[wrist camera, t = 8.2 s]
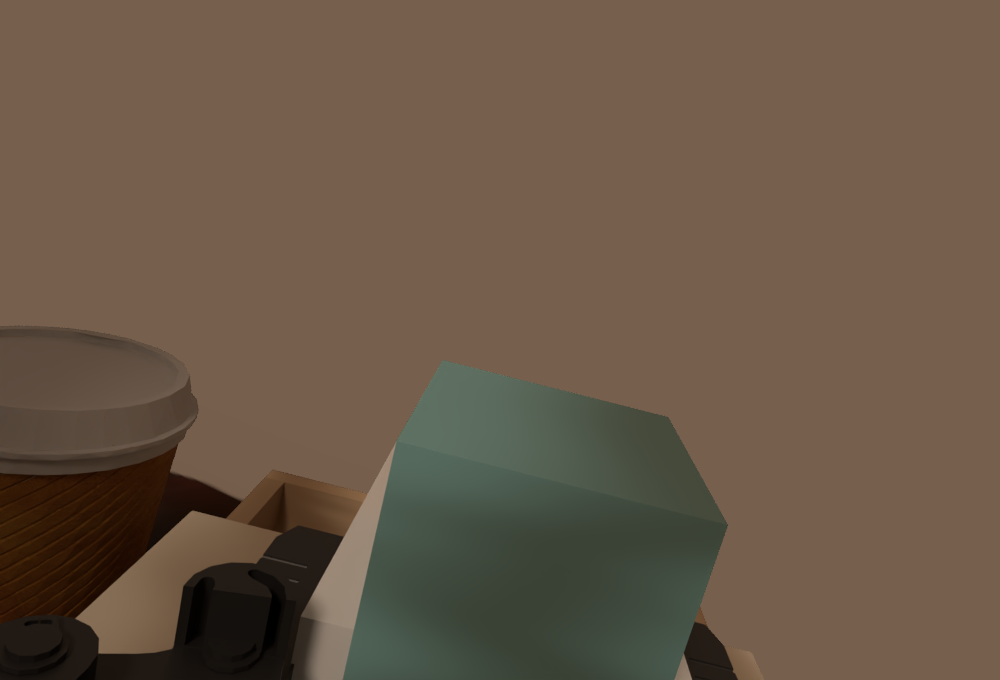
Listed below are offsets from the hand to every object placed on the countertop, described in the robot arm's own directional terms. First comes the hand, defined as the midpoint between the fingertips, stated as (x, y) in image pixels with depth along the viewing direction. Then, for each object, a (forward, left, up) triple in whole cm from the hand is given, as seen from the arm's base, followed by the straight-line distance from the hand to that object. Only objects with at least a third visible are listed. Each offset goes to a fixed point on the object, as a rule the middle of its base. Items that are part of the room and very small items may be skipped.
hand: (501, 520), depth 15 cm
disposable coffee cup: (-16, +9, -15) cm, 24 cm away
